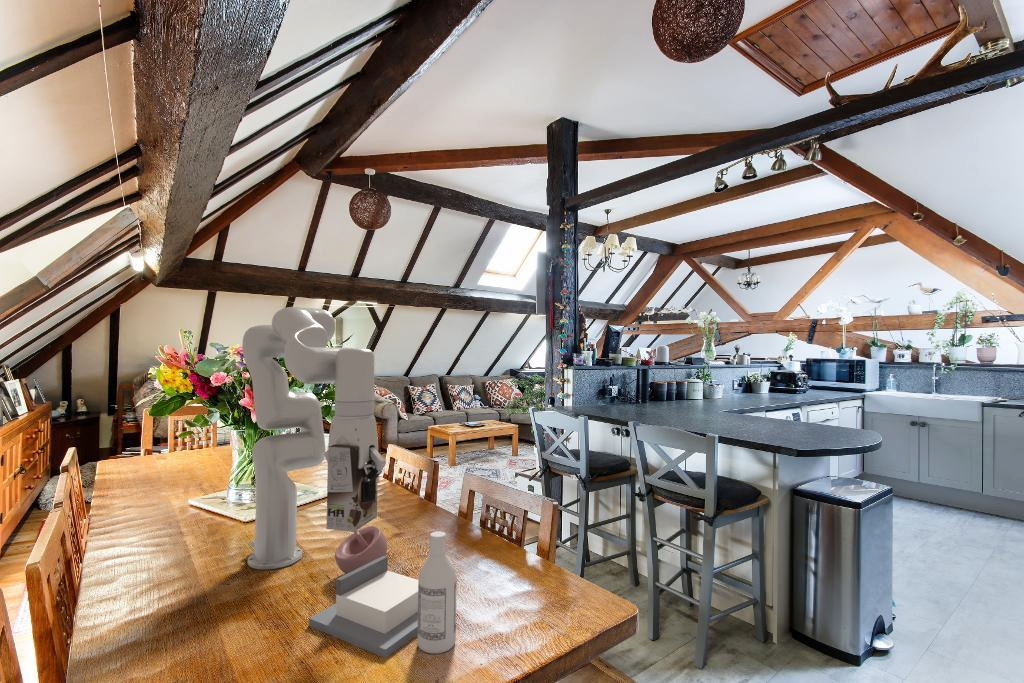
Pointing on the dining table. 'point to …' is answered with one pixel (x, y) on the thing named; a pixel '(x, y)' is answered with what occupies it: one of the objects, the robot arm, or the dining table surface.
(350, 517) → the coffee box
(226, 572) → the dining table surface
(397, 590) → the display stand
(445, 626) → the bath foam
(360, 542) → the mortar and pestle
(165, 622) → the dining table surface
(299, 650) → the dining table surface
